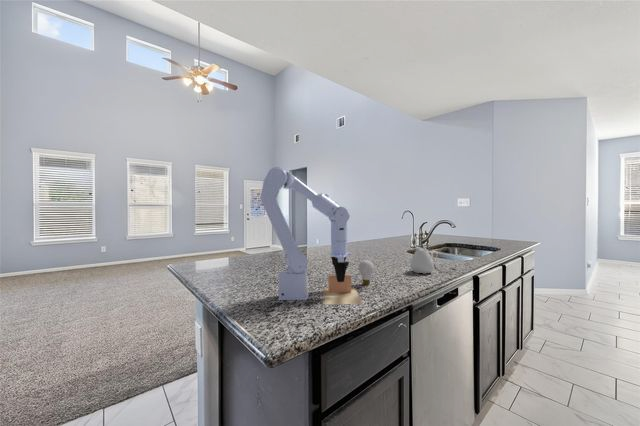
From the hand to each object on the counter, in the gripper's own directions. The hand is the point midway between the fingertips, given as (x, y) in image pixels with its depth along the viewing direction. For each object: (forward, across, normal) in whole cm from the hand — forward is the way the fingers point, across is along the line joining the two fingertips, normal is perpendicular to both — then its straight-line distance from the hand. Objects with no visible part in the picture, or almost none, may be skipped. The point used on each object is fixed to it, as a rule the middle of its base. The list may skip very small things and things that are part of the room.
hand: (339, 278), depth 95 cm
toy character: (+6, +31, -41) cm, 52 cm away
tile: (+4, 0, 0) cm, 5 cm away
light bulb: (+5, +9, -11) cm, 15 cm away
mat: (+5, -4, 0) cm, 6 cm away
